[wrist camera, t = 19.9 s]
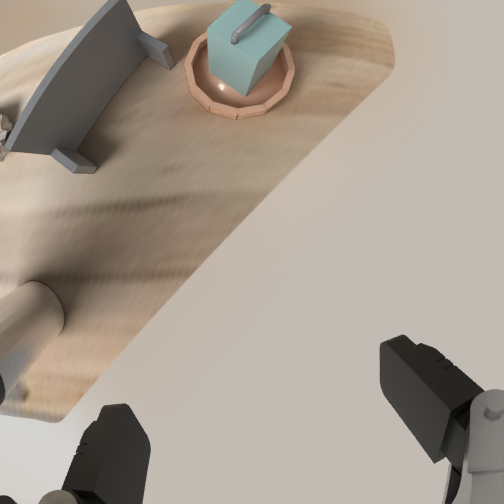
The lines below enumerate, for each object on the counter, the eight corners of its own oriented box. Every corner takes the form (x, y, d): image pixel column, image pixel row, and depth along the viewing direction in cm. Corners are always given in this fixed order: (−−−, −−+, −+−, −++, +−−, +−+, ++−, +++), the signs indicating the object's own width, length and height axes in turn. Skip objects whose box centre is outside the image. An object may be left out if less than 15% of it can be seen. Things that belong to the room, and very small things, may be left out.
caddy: (269, 69, 33) (296, 19, 20) (245, 97, 34) (260, 54, 20) (234, 45, 32) (244, -13, 19) (209, 72, 32) (206, 20, 19)
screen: (174, 64, 32) (155, 10, 18) (93, 173, 34) (35, 173, 20) (146, 47, 31) (116, -8, 17) (67, 153, 33) (4, 146, 19)
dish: (198, 128, 34) (197, 124, 32) (179, 40, 31) (177, 32, 29) (299, 108, 35) (304, 104, 33) (275, 25, 32) (279, 16, 29)
